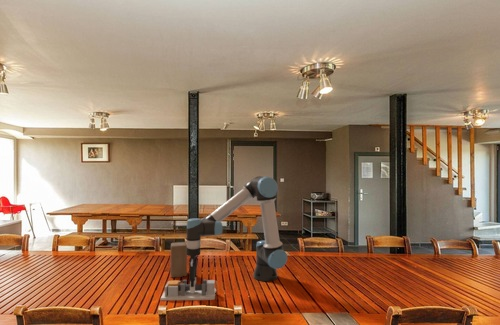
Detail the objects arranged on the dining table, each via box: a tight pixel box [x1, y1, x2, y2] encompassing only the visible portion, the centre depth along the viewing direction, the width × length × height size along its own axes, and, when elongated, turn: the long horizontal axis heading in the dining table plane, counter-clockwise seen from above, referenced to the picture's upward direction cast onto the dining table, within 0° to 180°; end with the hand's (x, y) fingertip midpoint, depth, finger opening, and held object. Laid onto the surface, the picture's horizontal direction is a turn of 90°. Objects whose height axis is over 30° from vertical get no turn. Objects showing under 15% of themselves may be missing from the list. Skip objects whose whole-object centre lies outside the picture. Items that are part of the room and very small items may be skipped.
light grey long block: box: [160, 279, 217, 301], centre depth 167 cm, size 28×12×7 cm, turn 92°
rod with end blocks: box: [167, 279, 216, 295], centre depth 167 cm, size 24×5×6 cm, turn 92°
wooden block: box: [170, 241, 188, 278], centre depth 199 cm, size 10×10×20 cm
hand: (192, 290), depth 167 cm, fingers closed on rod with end blocks, 3 cm apart
